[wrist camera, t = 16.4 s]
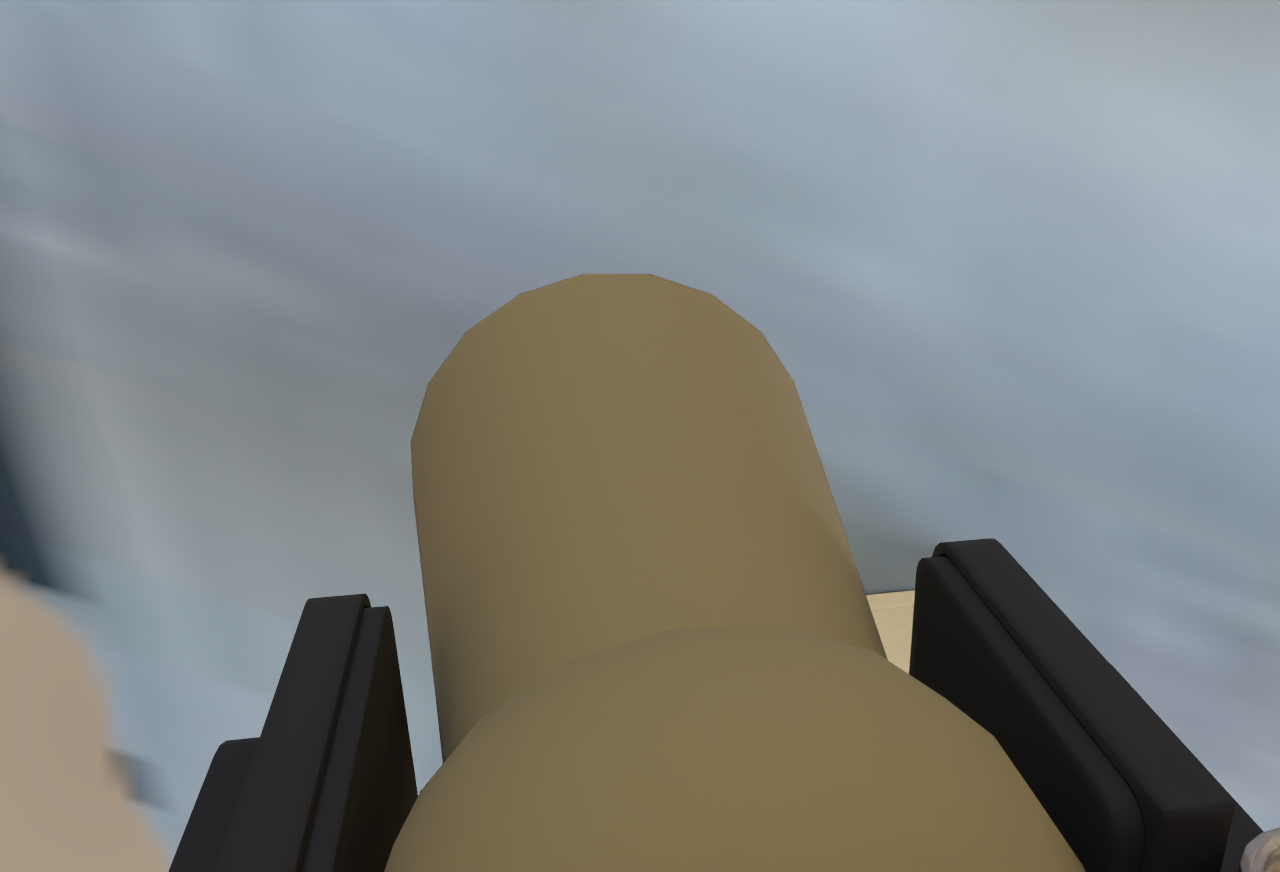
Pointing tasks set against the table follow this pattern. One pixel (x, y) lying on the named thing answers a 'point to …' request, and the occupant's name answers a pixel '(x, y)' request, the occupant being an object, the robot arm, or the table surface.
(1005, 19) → the table surface
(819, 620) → the cork
